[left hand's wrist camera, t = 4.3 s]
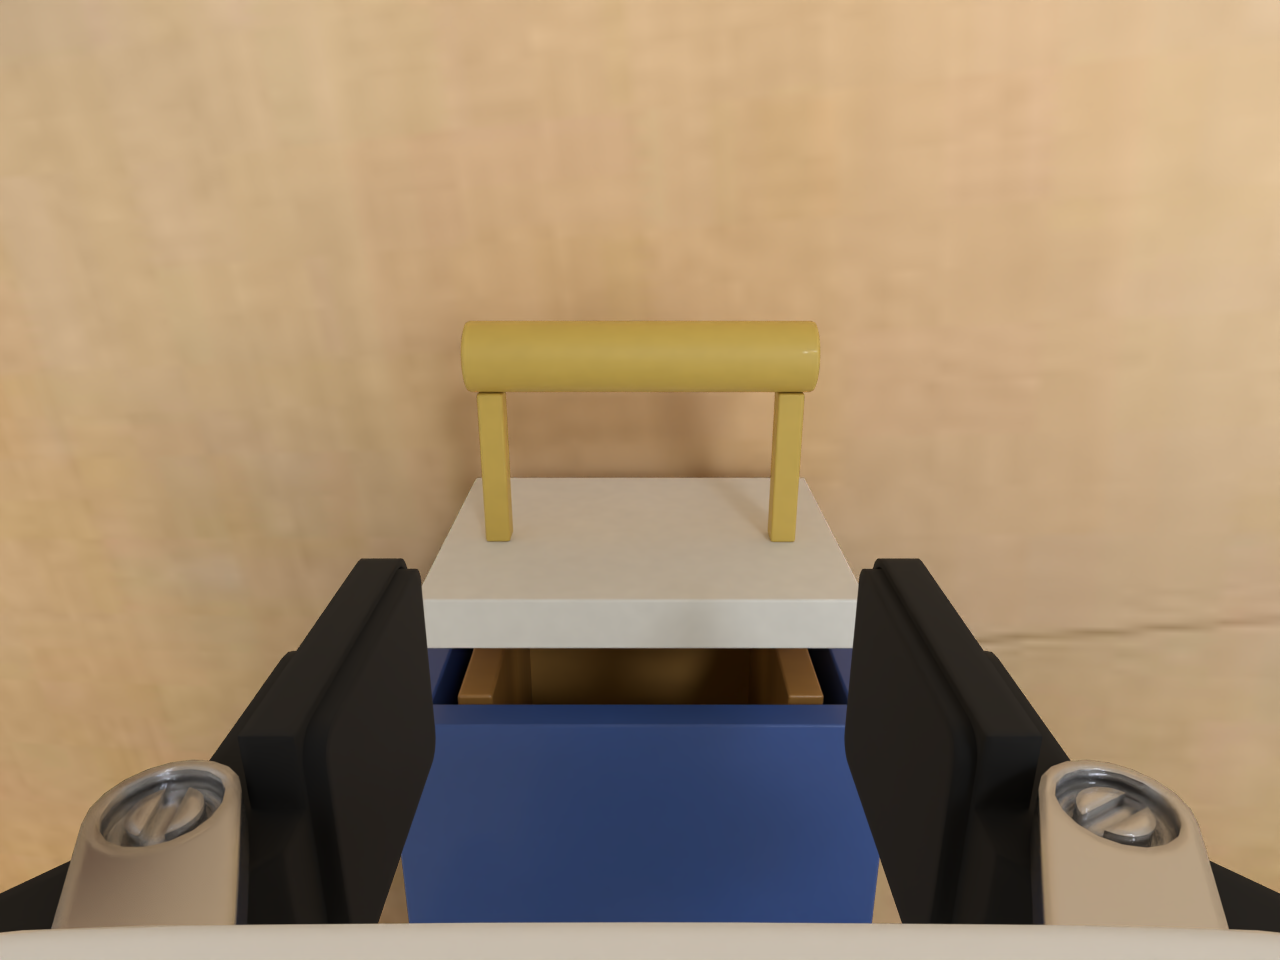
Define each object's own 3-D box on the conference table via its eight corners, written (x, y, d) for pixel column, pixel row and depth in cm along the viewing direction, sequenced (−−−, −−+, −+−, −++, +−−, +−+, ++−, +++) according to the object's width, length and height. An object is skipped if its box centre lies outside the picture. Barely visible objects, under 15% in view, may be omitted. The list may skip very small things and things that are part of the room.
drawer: (463, 292, 24) (388, 351, 17) (817, 293, 24) (892, 351, 17) (508, 950, 32) (470, 1178, 25) (772, 950, 32) (810, 1178, 25)
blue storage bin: (466, 542, 28) (384, 725, 19) (814, 542, 28) (896, 725, 19) (500, 1001, 34) (451, 1295, 25) (780, 1001, 34) (828, 1296, 25)
